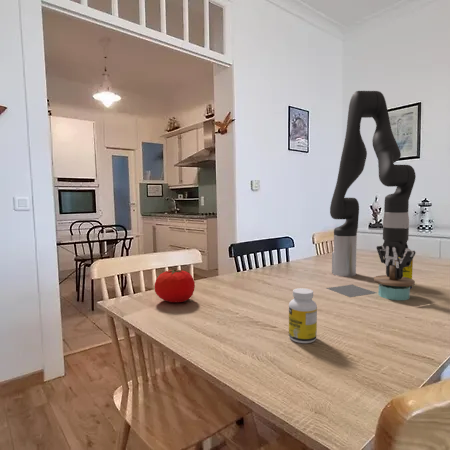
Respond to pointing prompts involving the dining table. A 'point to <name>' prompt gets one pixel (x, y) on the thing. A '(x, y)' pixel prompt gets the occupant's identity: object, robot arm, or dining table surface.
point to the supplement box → (407, 270)
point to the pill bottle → (302, 316)
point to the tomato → (174, 285)
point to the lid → (392, 281)
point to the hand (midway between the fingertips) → (394, 277)
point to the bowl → (394, 292)
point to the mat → (351, 290)
